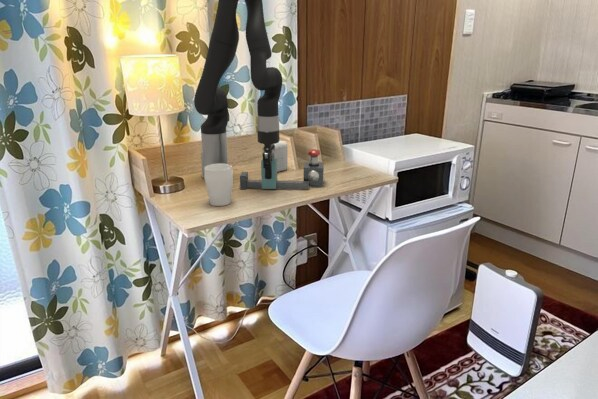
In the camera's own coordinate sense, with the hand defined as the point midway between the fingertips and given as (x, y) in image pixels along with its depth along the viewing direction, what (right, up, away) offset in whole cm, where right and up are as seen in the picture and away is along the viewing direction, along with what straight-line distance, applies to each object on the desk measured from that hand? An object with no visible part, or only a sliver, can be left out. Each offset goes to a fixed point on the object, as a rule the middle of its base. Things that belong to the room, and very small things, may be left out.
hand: (269, 176), depth 163 cm
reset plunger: (+16, +3, +5) cm, 17 cm away
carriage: (0, -4, +1) cm, 4 cm away
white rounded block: (+1, +3, +21) cm, 21 cm away
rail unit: (+5, -3, +5) cm, 7 cm away
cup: (-15, -9, -13) cm, 22 cm away
